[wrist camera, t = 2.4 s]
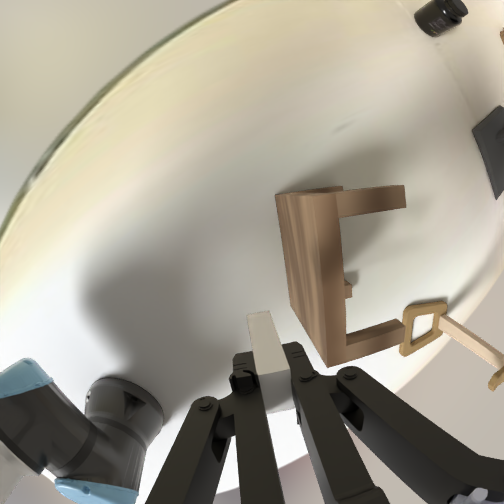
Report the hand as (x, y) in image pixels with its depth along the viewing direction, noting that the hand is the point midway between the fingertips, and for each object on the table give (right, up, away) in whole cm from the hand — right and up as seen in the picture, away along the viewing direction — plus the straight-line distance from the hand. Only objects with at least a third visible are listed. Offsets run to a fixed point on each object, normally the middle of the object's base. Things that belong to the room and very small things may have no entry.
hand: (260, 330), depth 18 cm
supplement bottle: (+35, +52, +14) cm, 64 cm away
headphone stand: (+32, -8, +26) cm, 42 cm away
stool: (+8, +6, +20) cm, 23 cm away
